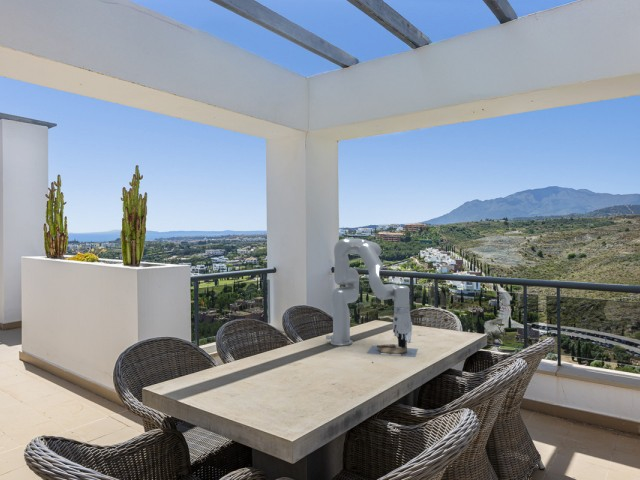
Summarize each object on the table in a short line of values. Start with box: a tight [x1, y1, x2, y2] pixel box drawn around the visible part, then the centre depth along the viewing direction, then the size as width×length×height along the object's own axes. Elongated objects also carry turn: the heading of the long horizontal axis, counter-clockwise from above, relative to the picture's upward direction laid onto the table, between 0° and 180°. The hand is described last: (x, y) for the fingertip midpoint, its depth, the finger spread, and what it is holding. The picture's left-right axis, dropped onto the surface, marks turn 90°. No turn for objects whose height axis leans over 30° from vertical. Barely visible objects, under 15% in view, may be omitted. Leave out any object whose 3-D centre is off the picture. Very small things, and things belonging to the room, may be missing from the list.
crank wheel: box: [376, 340, 408, 354], centre depth 220 cm, size 15×14×6 cm
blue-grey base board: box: [366, 345, 419, 358], centre depth 220 cm, size 24×17×2 cm
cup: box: [405, 321, 413, 343], centre depth 243 cm, size 9×9×12 cm
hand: (401, 346), depth 216 cm, fingers closed
